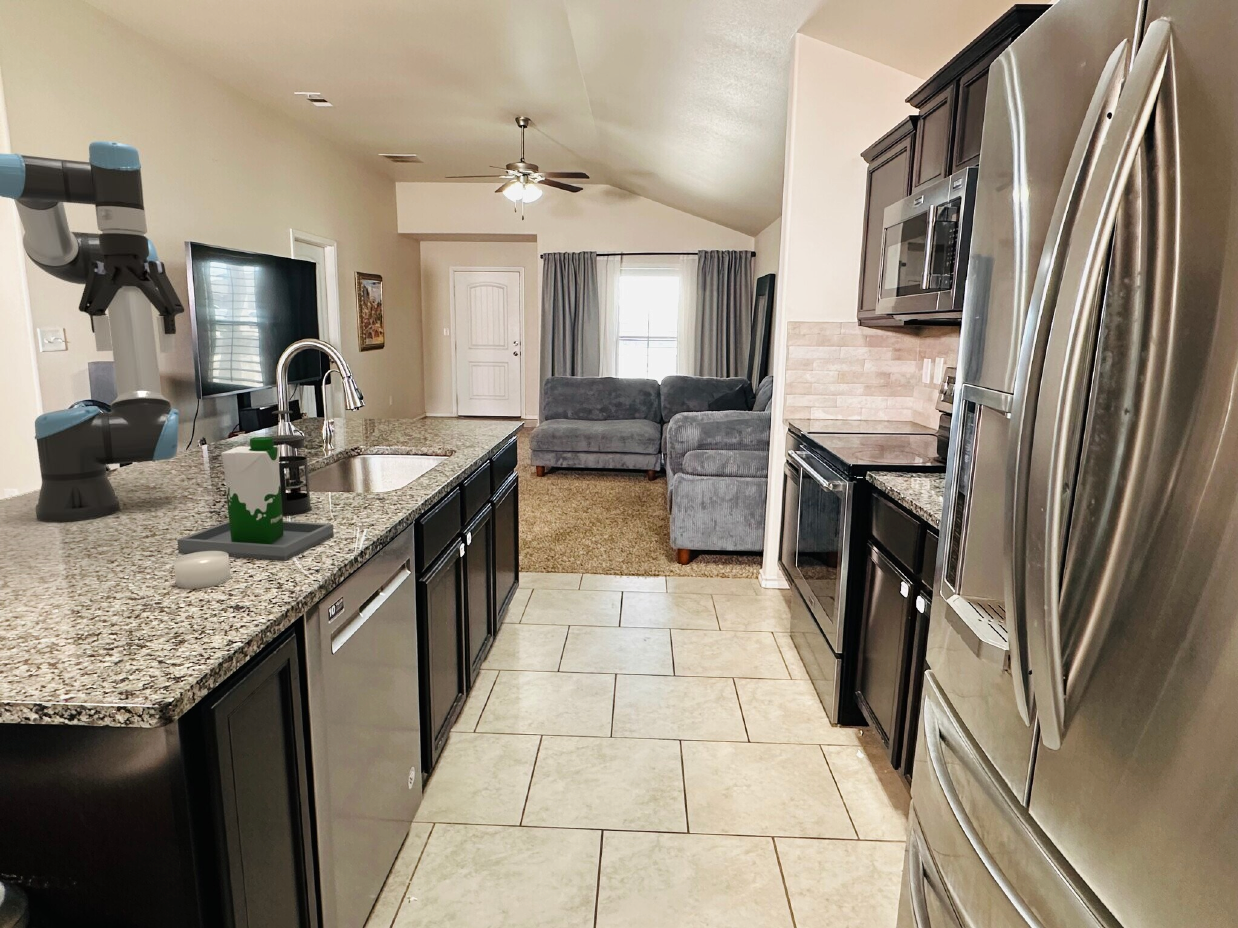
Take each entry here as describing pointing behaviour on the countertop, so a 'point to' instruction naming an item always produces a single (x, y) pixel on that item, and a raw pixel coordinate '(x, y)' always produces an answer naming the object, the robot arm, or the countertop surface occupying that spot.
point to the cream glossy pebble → (202, 569)
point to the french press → (292, 473)
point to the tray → (285, 547)
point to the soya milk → (254, 492)
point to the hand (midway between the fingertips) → (136, 352)
